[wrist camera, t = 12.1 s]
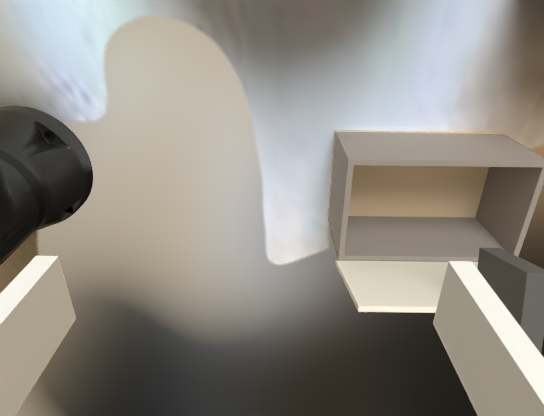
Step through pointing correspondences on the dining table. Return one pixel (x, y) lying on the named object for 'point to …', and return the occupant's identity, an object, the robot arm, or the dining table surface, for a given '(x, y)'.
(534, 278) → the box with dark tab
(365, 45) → the dining table surface
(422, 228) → the open cabinet
